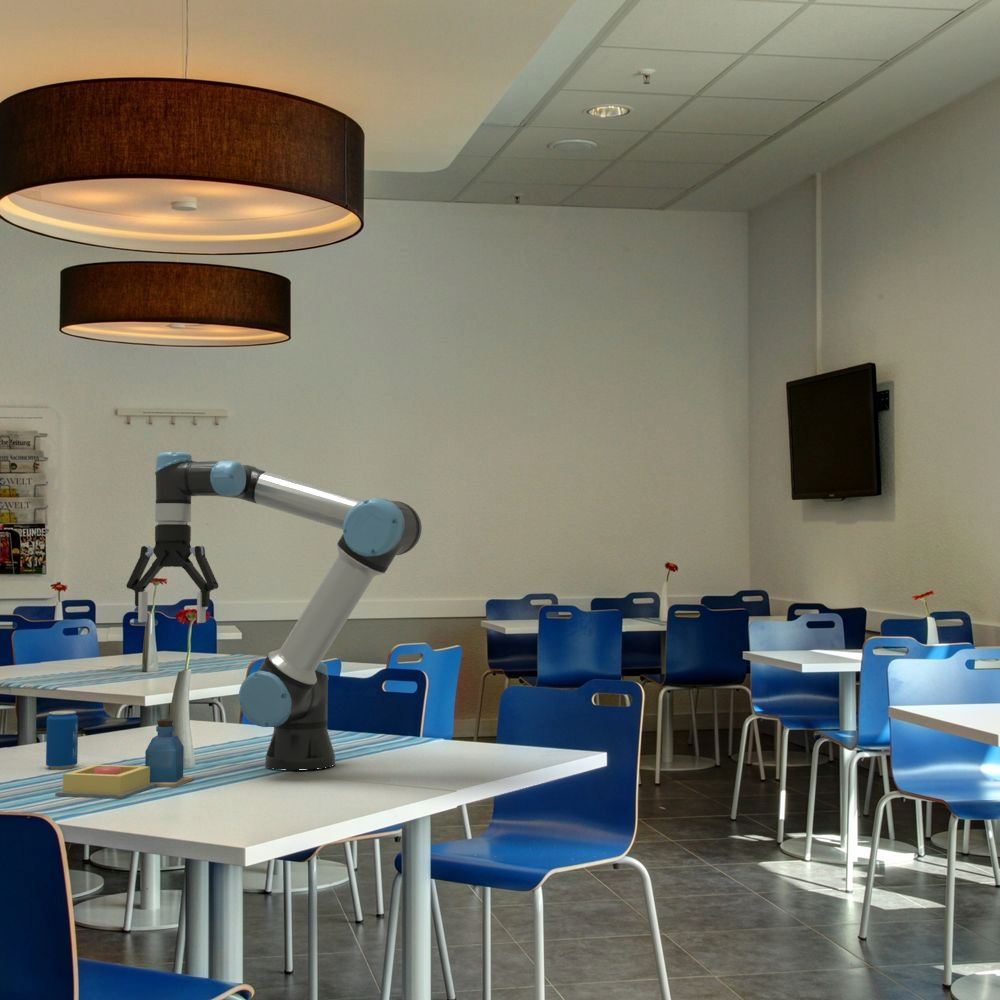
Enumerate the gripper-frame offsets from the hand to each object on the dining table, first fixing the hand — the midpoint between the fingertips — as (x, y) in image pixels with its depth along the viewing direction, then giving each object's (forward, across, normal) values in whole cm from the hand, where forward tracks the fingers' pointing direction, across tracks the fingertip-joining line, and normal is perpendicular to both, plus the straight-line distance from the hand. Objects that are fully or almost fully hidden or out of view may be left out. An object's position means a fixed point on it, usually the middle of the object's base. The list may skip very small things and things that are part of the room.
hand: (171, 622), depth 280 cm
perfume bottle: (+31, -6, +14) cm, 35 cm away
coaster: (+32, -5, +14) cm, 35 cm away
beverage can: (+32, +25, +1) cm, 41 cm away
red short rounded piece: (+30, +1, +25) cm, 39 cm away
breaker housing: (+32, +1, +25) cm, 40 cm away
